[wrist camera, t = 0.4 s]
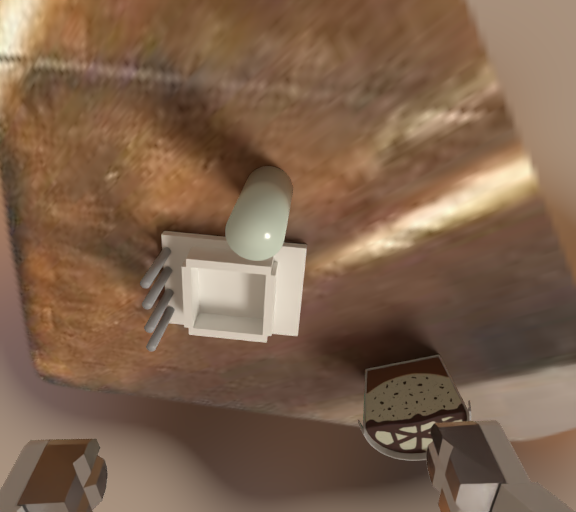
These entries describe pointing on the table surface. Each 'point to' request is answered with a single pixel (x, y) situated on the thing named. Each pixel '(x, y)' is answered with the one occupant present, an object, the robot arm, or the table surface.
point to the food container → (409, 406)
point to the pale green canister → (260, 214)
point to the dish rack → (224, 289)
